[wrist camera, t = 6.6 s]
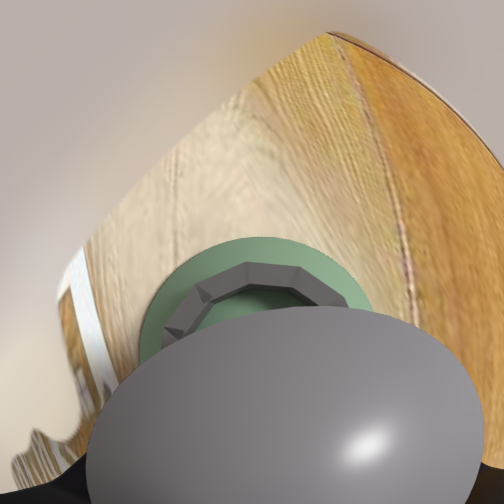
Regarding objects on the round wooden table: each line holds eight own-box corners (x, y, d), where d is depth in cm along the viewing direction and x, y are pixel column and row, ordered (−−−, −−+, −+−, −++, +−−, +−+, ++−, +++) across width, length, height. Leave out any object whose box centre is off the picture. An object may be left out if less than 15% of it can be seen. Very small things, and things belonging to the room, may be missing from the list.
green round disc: (205, 493, 15) (198, 513, 13) (109, 295, 19) (89, 290, 16) (408, 401, 17) (428, 409, 14) (316, 203, 20) (326, 185, 18)
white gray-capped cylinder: (267, 431, 14) (297, 628, 1) (195, 371, 15) (33, 482, 2) (331, 362, 15) (523, 433, 2) (259, 301, 16) (285, 202, 3)
